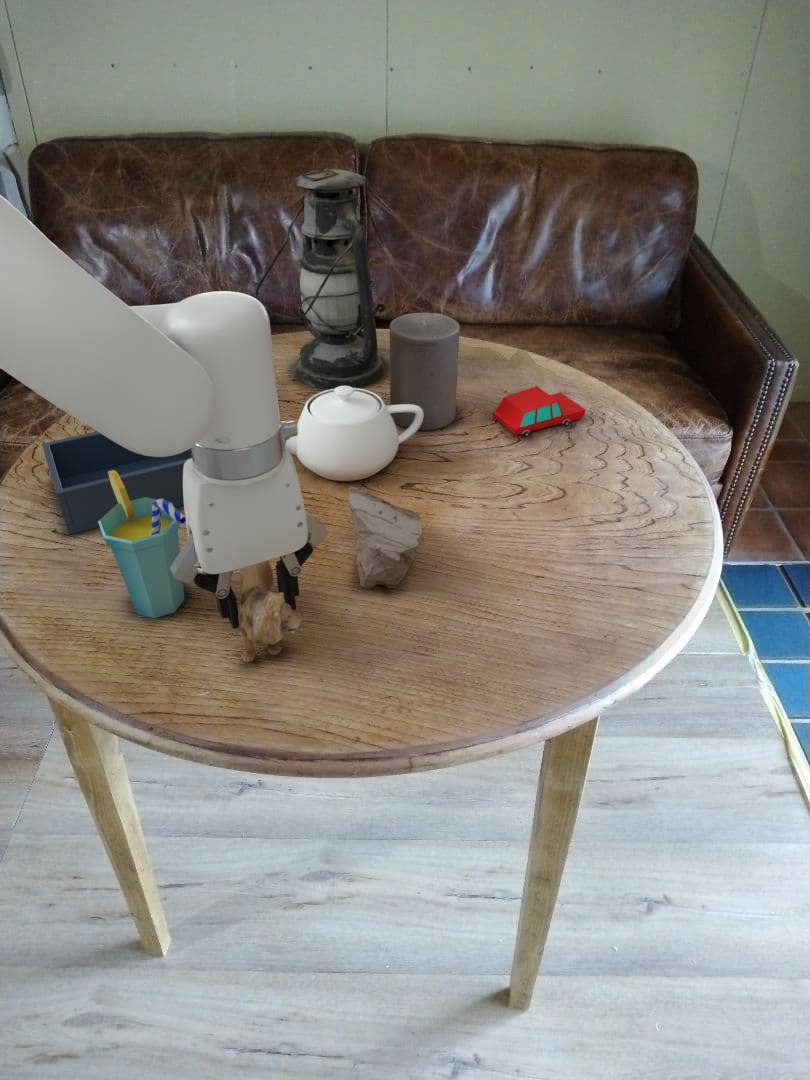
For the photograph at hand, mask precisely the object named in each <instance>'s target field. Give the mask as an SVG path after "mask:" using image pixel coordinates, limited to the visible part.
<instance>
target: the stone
mask: <svg viewBox="0 0 810 1080" xmlns="http://www.w3.org/2000/svg"><path fill="white" fill-rule="evenodd" d="M347 494H348V496H347V498H348V502H349V503H348V504H349V505H348V507H349V509H350V511H351V515H350V518H351V521H352V526H353V530H354V531H353V533H354V540H355V553H356V555H357V556H356V560H355V561H356V566H357V571H358V577H359V581H360V586H361V587H362V588H364V589H372V588H374V587H375V586H377V585H381V586H384V587H386V588H387V589H396V588H397V586H398V585H399V584H400V582H401V581H402V580H403V579H404V578H405V576H406V573H407V572H408V571H409V569H410V565H411V563H412V561H414V559H415V558H416V555H417V550H418V548H419V543H420V542H419V539H420V537H421V535H422V533H423V520H422V518H421V517H420V516H419V514H417V513H416V512H415V511H414V510H412V509H409V508H406V507H405V508H404V507H400V506H397V505H394V504H391V502H389V501H387V500H385V499H384V498H381V497H378V496H376V495H374V494H372V493H370V492H368V490H365V489H361V488H358V487H356V486H353V485H349V488H348V491H347Z"/></svg>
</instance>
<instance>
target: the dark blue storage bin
mask: <svg viewBox="0 0 810 1080" xmlns="http://www.w3.org/2000/svg"><path fill="white" fill-rule="evenodd" d="M41 446H42V451H43V453H44V457H45V460H46V464H47V468H48V471H49V475H50V478H51V481H52V485H53V488H54V492H55V495H56V498H57V501H58V505H59V508H60V511H61V514H62V518H63V521H64V524H65V527H66V530H67V533H68V535H74V534H78V533H81V532H86V531H89V530H93V529H97V528H100V526H99V523H98V521H99V520H100V519H102V518H103V517H104V516H105V515H106V514H107V513H108V512H109V511H110V510H111V509H112V508H113V507H114V506H115V505H117V504H119V503H118V501H117V499H116V496H115V493H114V491H113V488H112V486H111V483H110V479H109V474H108V472H109V471H112V470H115V471H116V472H117V473H118V475H119V477H120V479H121V481H122V483H123V485H124V487H125V489H126V492H127V494H128V497H129V499H130V501H132V500H136V499H140V498H144V497H147V498H152V499H157V500H158V499H164V500H166V501H167V502H171V503H172V504H173V506H174V508H175V509H176V508H177V507H182V506H183V507H184V500H183V467H184V464H185V462H186V461H187V460H188V459H191V458H192V456H191V450H190V449H188V450H186V451H184V452H182V453H180V454H176V455H172V456H166V457H152V456H145V455H142V454H138V453H135V452H132V451H130V450H128V449H126V448H124V447H123V446H121V445H119V444H117V443H115V442H114V441H112V440H110V439H109V438H107V437H106V436H104V435H102V434H101V433H99V432H97V431H92V432H88V433H84V434H79V435H75V436H70V437H65V438H61V439H57V440H52V441H48V442H42V443H41Z"/></svg>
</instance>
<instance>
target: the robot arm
mask: <svg viewBox="0 0 810 1080" xmlns="http://www.w3.org/2000/svg"><path fill="white" fill-rule="evenodd" d="M261 302H262V301H261ZM261 302H259V301H258V300H257V298H256V297H254V296H252V295H250V294H248V293H247V294H246V293H243V292H238V291H228V290H217V291H206V292H202V293H198V294H194V295H191V296H188V297H186V298H184V299H182V300H180V301H178V302H173V303H163V304H149V305H131V306H130V305H128V304H127V303H126V302H125V301H123V300H122V299H121V298H119V297H118V296H116V294H114V293H113V292H112V291H110V290H109V289H108V288H107V287H106V286H105V285H103V284H101V282H100V281H98V280H97V279H96V278H95V277H93V276H92V275H91V274H90V273H88V272H87V271H86V270H85V269H83V267H82V266H80V265H79V264H78V263H76V261H74V260H73V259H72V258H71V257H69V255H68V254H66V253H65V252H64V251H63V250H61V249H60V248H59V247H58V246H57V245H56V244H54V242H52V241H51V239H49V238H48V237H47V236H46V235H45V234H44V233H43V232H42V231H41V230H40V229H39V228H38V227H36V225H35V224H34V223H33V222H31V220H29V218H27V216H26V215H24V214H23V213H22V212H21V210H19V209H18V208H17V207H16V206H15V205H13V203H11V202H10V201H9V200H8V199H7V198H5V197H4V196H3V195H2V194H0V369H1V370H2V371H4V372H6V373H7V374H8V375H10V376H11V377H13V378H14V379H16V380H17V381H18V382H20V383H21V384H23V385H24V386H26V387H27V388H29V389H30V390H32V391H33V392H34V393H36V394H37V395H39V396H40V397H42V398H43V399H45V400H46V401H48V402H49V403H50V404H52V405H54V406H56V407H57V408H59V409H60V410H62V411H63V412H64V413H67V414H68V415H70V416H71V417H73V418H75V419H76V420H77V421H80V422H81V423H82V424H85V425H86V426H88V427H90V428H91V429H93V430H94V431H95V432H99V433H101V434H102V435H104V436H106V437H107V438H109V439H110V440H112V441H114V442H115V443H117V444H119V445H121V446H123V447H124V448H126V449H128V450H130V451H132V452H135V453H138V454H142V455H145V456H152V457H166V456H172V455H176V454H180V453H182V452H184V451H186V450H188V449H190V450H191V456H192V458H191V459H188V460H187V461H186V462H185V464H184V467H183V500H184V505H183V511H184V516H185V519H186V521H185V526H186V533H187V539H186V541H185V542H184V544H183V546H182V547H181V549H180V552H179V554H178V555H177V557H176V559H175V560H174V562H173V564H172V565H171V567H170V570H171V572H172V574H173V577H174V578H175V579H176V580H180V581H183V583H187V584H189V585H191V584H194V585H195V586H196V587H198V588H199V589H202V590H205V591H206V592H209V593H211V594H214V595H215V601H216V606H217V610H218V613H219V616H220V618H221V620H225V619H228V621H229V623H230V625H231V627H232V629H233V630H235V629H238V628H240V625H239V618H238V615H239V612H238V609H239V606H238V600H237V596H236V594H235V592H234V590H233V588H232V587H231V584H232V579H233V572H234V571H237V570H240V569H242V568H243V567H247V566H250V565H254V564H257V563H261V562H264V561H267V560H268V561H270V560H273V559H278V558H279V559H280V560H277V561H276V564H275V565H274V566H275V575H276V583H277V591H278V593H280V592H283V594H284V600H285V603H287V604H289V605H290V606H291V608H292V610H293V611H295V610H297V602H296V597H297V596H300V587H299V577H298V576H300V575H301V573H302V570H303V569H302V566H303V565H304V564H305V562H306V561H307V560H308V559H309V557H310V556H311V555H312V554H313V552H314V549H315V548H316V547H318V546H319V545H320V544H321V543H322V542H323V540H325V539H326V537H328V535H329V530H328V529H327V527H326V526H325V525H324V524H323V522H321V521H320V520H319V519H317V518H316V517H315V516H314V515H312V514H311V513H309V512H308V511H307V510H306V508H305V503H304V498H303V493H302V489H301V484H300V480H299V477H298V473H297V469H296V466H295V463H294V460H293V457H292V454H291V453H290V452H289V450H288V448H287V446H286V445H285V444H286V440H288V439H290V437H294V436H297V435H298V430H297V423H296V421H295V420H290V421H285V420H283V421H282V420H281V416H280V408H279V407H280V406H279V398H278V397H279V396H278V387H277V376H276V369H275V359H274V349H273V348H274V347H273V340H272V329H271V323H270V315H269V314H268V310H267V309H265V307H264V306H263V305H262V304H261ZM197 561H198V563H199V565H200V566H199V565H198V566H195V563H196V562H197Z"/></svg>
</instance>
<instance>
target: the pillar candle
mask: <svg viewBox="0 0 810 1080" xmlns="http://www.w3.org/2000/svg"><path fill="white" fill-rule="evenodd" d="M460 331H461V325H460V324H459V322H458V321H457V320H455V319H453V318H452V317H449V316H446V315H444V314H442V313H432V312H413V313H406V314H403V315H399V316H398V317H396V318H394V319H393V320H392V321H391V322H390V324H389V385H390V386H389V387H390V388H389V390H390V391H389V394H390V396H389V400H390V405H400V404H412V405H417V406H419V407H421V409H422V410H423V414H424V417H423V421H422V424H421V426H420V427H419V429H418V430H417V431H433V430H438V429H441V428H444V427H447V426H449V425H451V423H453V422H454V420H455V419H456V413H457V392H458V374H459V373H458V372H459V370H458V369H459V368H458V367H459V344H460ZM390 414H391V416H392V418H393V420H394V423H395V425H397V426H400V427H403V428H406V429H408V428H409V427H410V425H411V424H412V423H413V421H414V419H415V415H416V414H415V413H413V412H399V413H390Z"/></svg>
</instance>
